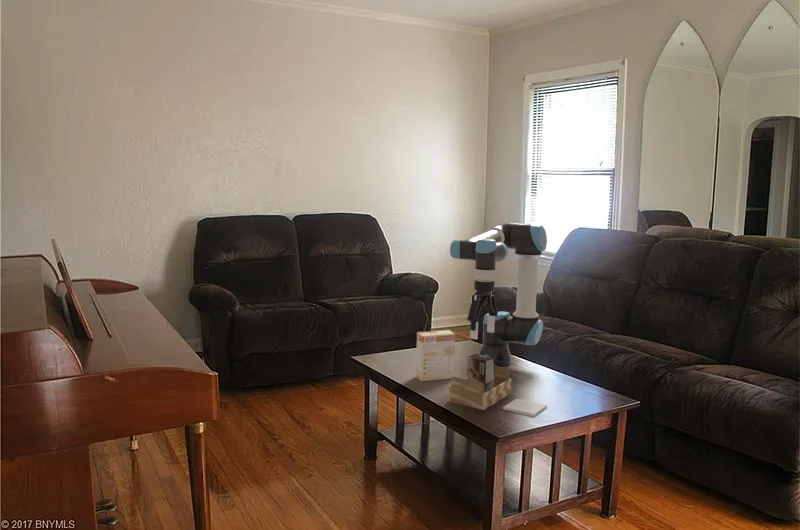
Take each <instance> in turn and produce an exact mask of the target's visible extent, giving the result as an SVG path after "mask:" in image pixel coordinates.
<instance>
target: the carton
mask: <svg viewBox="0 0 800 530" xmlns="http://www.w3.org/2000/svg"><path fill="white" fill-rule="evenodd" d="M482 385H483V383H481V382H477V381H472V380H467V376H466V377H464V378H463V377H457V376H455V375H454V376H451V379H450V384H449V385H448V397H447V400H448V402H450V403H453V404H458V405H461V406H467V407H470V408H474V409H479V410H482V411H485V410H486V409H488V408H489V407H491V406H493V405H495V404H496V403H498V402H499V401H501V400H502V399H504V398H506V397H507V396H509V395H511V393H512V378H510V368H508V367H507V368H506V367H505V366H495V375H494V388H492V389H491V390H489V391H487V392H485V393H482Z"/></svg>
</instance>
